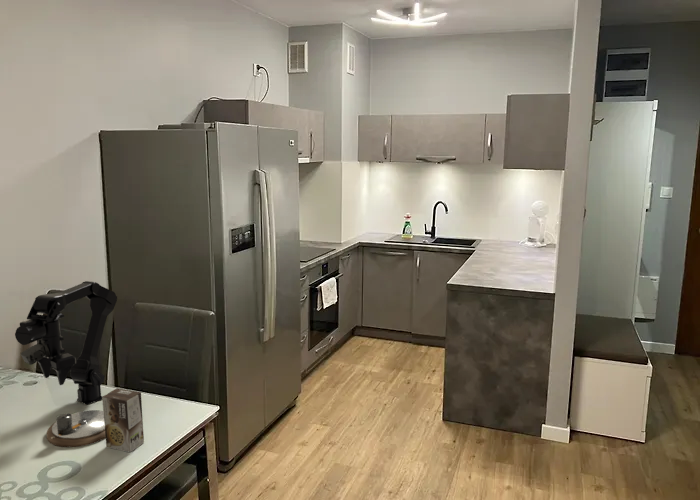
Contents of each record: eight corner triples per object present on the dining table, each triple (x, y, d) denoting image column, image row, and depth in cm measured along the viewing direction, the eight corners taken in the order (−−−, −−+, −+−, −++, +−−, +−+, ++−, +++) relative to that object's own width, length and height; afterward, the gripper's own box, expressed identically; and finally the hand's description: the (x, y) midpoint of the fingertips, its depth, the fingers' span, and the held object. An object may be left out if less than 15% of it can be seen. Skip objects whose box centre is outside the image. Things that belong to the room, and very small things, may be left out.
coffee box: (145, 442, 168) (142, 391, 165) (130, 453, 162) (127, 400, 159) (120, 437, 171) (117, 387, 168) (104, 447, 165) (101, 395, 162)
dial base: (96, 409, 189) (96, 405, 188) (130, 427, 177) (130, 422, 177) (34, 433, 173) (34, 428, 172) (68, 454, 161) (67, 449, 161)
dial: (84, 409, 185) (82, 392, 184) (124, 418, 179) (123, 401, 178) (39, 433, 170) (37, 414, 169) (81, 444, 164) (80, 425, 163)
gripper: (9, 335, 176) (14, 382, 179) (38, 347, 165) (42, 397, 168) (45, 326, 185) (49, 371, 188) (75, 338, 174) (79, 385, 177)
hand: (54, 381), depth 180 cm, fingers open, 9 cm apart
